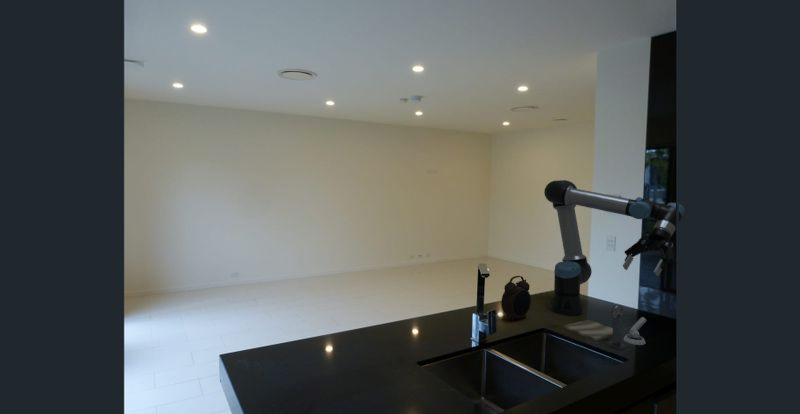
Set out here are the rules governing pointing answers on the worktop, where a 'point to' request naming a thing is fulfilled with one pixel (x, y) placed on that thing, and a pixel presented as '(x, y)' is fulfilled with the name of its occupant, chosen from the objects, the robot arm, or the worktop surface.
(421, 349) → the worktop surface
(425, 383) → the worktop surface
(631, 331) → the hook
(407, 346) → the worktop surface
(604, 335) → the pad
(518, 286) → the alarm clock
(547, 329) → the worktop surface
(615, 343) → the eye post
